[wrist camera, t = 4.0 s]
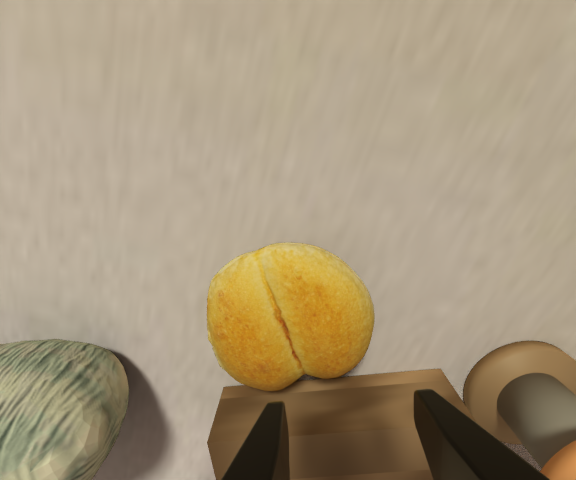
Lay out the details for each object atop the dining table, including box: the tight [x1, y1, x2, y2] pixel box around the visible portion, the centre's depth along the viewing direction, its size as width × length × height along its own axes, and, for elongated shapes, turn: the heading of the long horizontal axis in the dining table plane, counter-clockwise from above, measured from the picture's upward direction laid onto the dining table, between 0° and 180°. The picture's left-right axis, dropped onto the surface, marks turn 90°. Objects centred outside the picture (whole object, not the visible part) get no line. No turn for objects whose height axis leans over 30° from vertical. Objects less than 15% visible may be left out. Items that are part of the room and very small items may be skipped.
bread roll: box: [207, 242, 374, 391], centre depth 16 cm, size 8×9×4 cm
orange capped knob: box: [463, 341, 576, 480], centre depth 16 cm, size 7×7×7 cm
